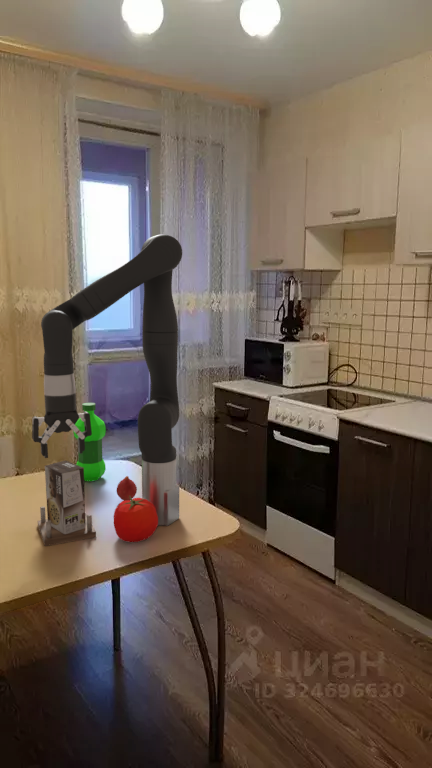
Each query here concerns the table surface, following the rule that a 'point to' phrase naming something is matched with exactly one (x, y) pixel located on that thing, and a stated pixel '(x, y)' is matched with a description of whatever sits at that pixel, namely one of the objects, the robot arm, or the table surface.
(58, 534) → the pin holder
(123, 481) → the onion
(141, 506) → the tomato
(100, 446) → the plastic bottle
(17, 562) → the table surface
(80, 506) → the coffee box
